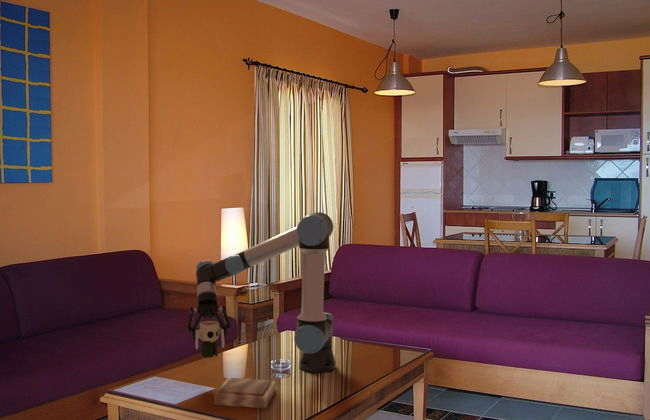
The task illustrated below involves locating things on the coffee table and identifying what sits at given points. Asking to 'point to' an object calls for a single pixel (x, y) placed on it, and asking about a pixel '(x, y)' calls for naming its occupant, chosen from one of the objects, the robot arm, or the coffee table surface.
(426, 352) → the coffee table surface
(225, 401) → the birch plinth
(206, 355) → the character mug
